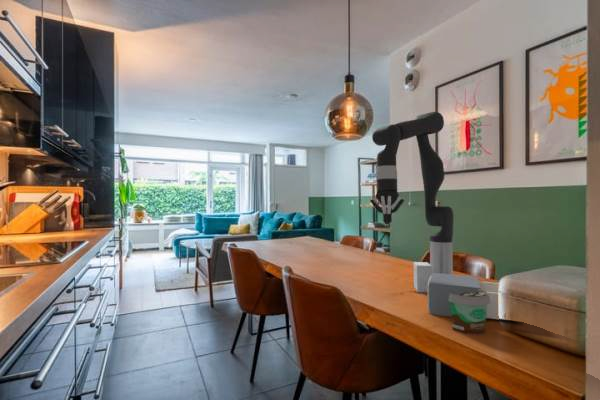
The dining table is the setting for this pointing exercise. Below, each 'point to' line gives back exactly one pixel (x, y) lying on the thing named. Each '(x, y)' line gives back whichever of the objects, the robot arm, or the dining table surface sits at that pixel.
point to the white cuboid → (493, 295)
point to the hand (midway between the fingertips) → (387, 223)
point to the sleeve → (448, 290)
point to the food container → (469, 312)
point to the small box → (422, 275)
